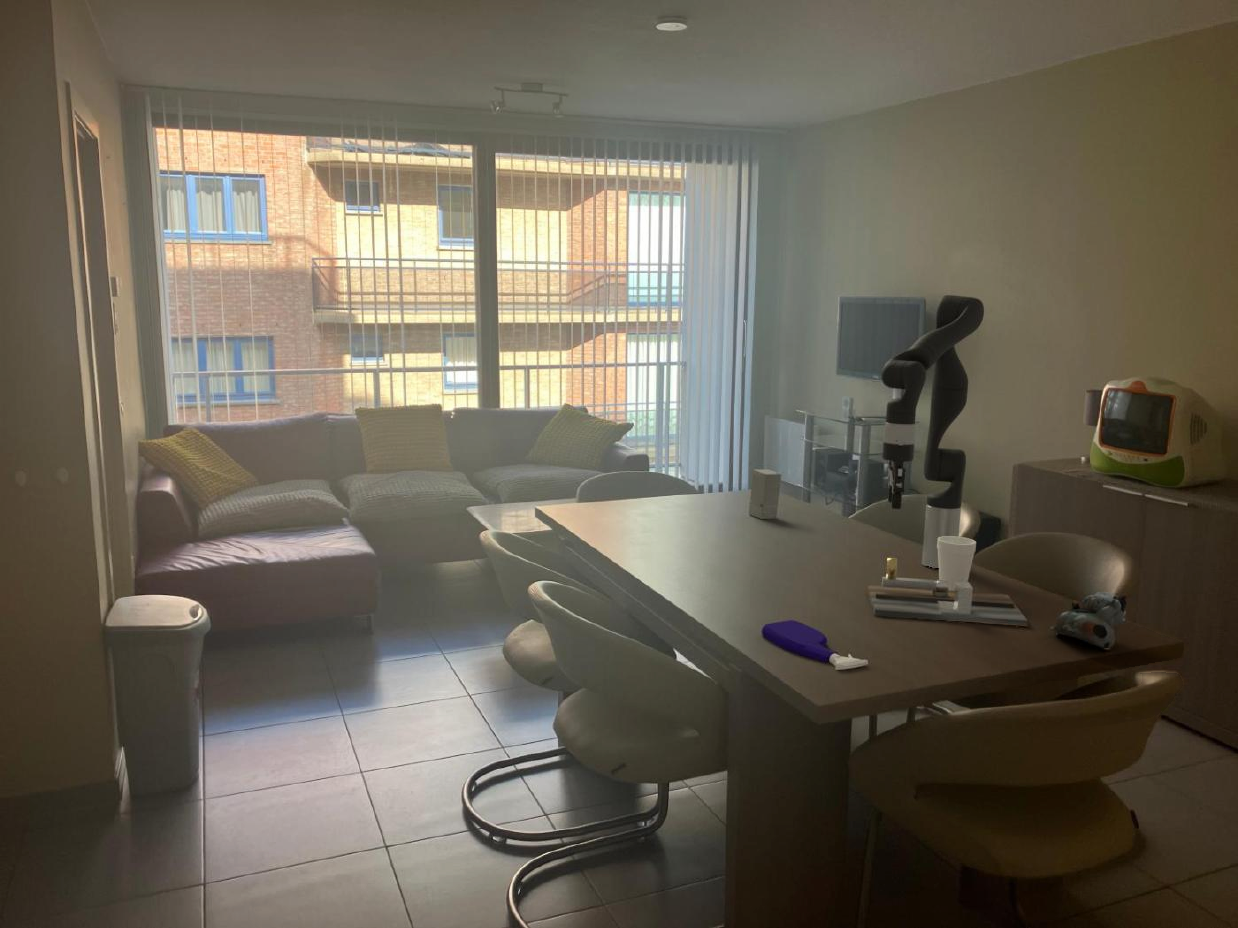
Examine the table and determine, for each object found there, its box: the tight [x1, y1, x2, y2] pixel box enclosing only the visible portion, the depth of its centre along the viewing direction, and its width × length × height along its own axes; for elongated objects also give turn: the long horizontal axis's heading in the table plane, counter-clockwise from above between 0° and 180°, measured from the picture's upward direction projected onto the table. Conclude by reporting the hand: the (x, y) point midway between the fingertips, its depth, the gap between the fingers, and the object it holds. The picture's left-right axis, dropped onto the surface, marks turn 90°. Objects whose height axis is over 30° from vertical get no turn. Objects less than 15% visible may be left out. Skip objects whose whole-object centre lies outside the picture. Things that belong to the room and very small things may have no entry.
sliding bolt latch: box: [867, 584, 1028, 626], centre depth 240 cm, size 21×34×3 cm, turn 81°
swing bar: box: [881, 557, 949, 592], centre depth 245 cm, size 16×4×7 cm, turn 81°
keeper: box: [937, 581, 974, 615], centre depth 233 cm, size 6×7×6 cm
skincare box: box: [748, 468, 782, 520], centre depth 337 cm, size 8×7×16 cm
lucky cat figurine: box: [1049, 591, 1127, 649], centre depth 217 cm, size 15×12×14 cm
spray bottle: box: [761, 619, 869, 671], centre depth 208 cm, size 3×11×24 cm
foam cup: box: [937, 536, 977, 591], centre depth 255 cm, size 10×9×13 cm
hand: (894, 505), depth 250 cm, fingers open, 7 cm apart
